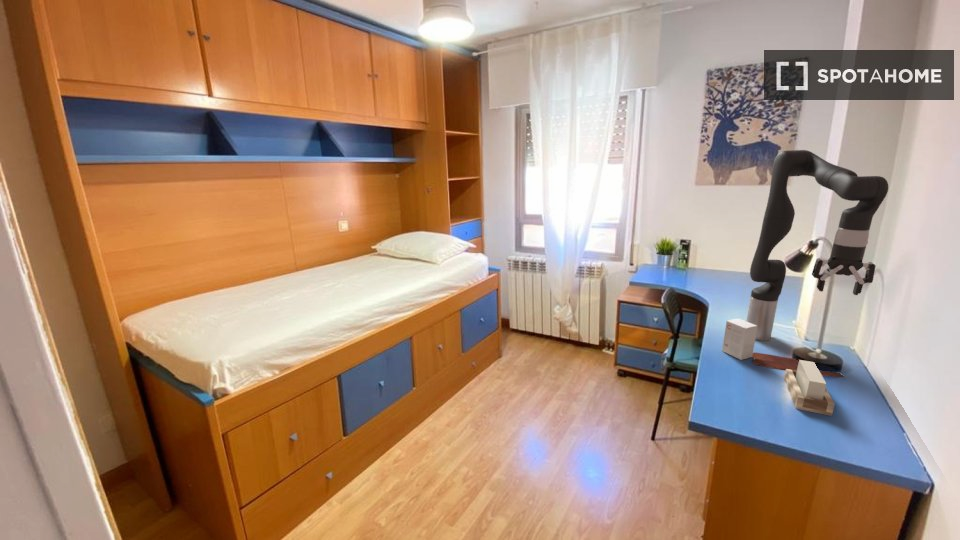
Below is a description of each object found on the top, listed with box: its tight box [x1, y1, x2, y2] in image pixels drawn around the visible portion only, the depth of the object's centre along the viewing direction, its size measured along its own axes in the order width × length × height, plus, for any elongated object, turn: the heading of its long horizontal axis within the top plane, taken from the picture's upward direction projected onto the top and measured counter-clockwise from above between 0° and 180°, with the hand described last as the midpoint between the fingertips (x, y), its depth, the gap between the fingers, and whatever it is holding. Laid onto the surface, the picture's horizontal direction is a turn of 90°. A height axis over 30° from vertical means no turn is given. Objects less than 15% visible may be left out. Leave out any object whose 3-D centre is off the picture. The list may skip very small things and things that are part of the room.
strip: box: [795, 359, 827, 400], centre depth 126 cm, size 14×4×8 cm, turn 153°
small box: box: [721, 317, 757, 361], centre depth 153 cm, size 8×6×13 cm
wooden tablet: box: [751, 352, 845, 378], centre depth 145 cm, size 27×10×2 cm, turn 66°
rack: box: [783, 369, 835, 417], centre depth 127 cm, size 18×9×4 cm, turn 153°
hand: (837, 292), depth 127 cm, fingers open, 8 cm apart
